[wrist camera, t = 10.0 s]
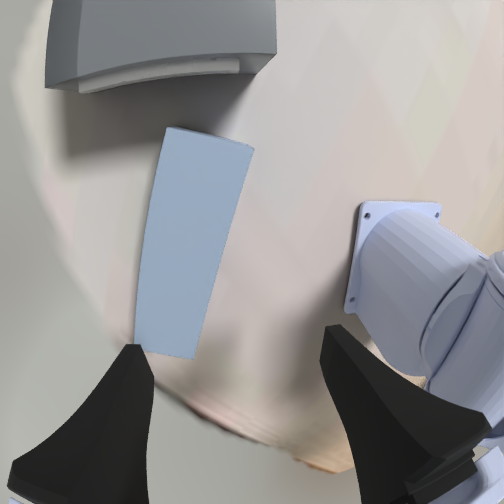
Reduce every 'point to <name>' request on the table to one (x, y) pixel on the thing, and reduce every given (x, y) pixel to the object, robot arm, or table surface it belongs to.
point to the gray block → (155, 40)
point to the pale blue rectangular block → (186, 237)
